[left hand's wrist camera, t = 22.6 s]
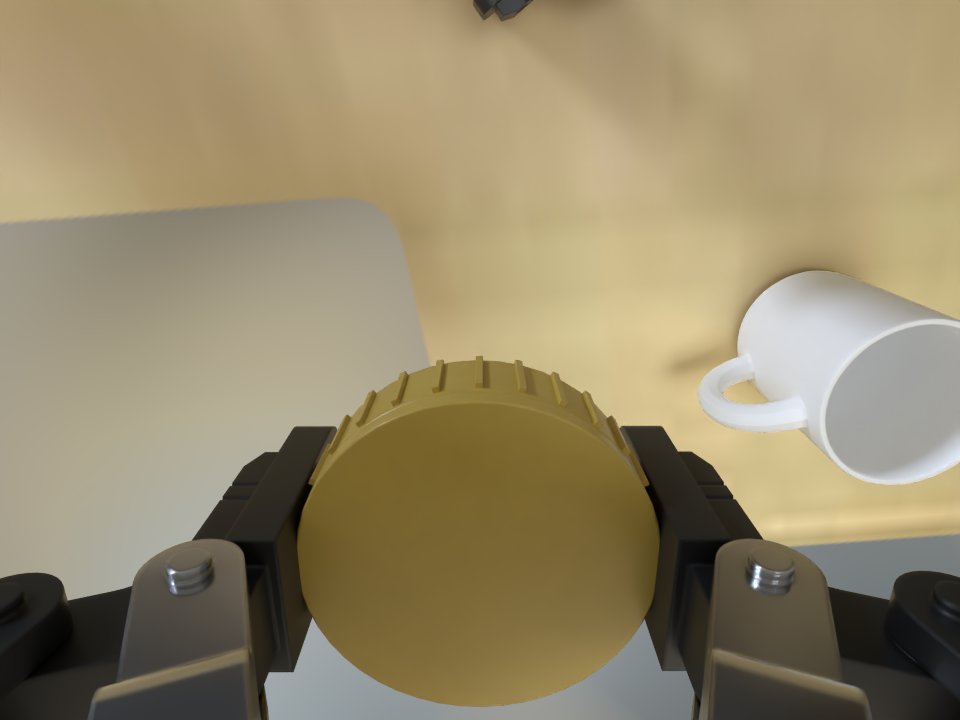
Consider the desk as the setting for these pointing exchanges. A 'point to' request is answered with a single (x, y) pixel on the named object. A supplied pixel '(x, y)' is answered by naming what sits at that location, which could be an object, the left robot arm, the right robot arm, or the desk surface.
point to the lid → (478, 536)
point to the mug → (848, 376)
